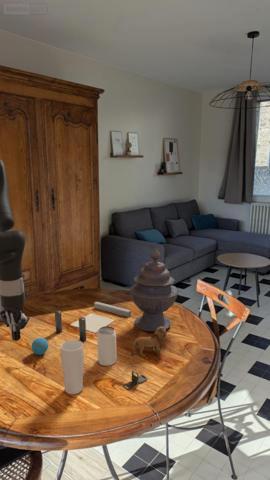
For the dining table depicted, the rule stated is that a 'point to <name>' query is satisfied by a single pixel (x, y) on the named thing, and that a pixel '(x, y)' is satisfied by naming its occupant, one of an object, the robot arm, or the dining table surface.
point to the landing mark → (94, 322)
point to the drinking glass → (72, 365)
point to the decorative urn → (153, 294)
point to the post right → (82, 329)
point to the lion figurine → (150, 341)
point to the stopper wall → (112, 309)
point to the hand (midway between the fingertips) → (16, 339)
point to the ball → (39, 346)
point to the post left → (58, 321)
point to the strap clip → (135, 380)
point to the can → (106, 345)
